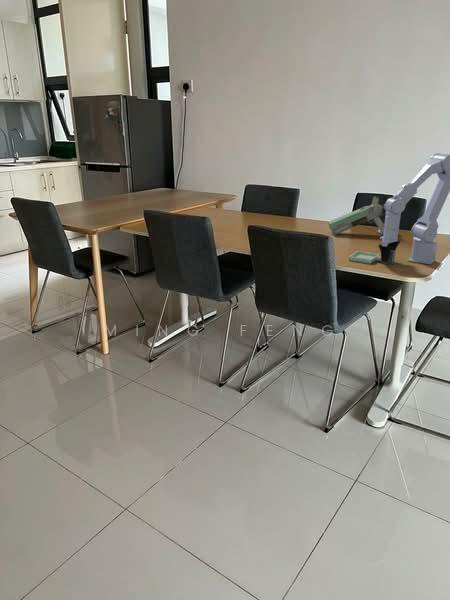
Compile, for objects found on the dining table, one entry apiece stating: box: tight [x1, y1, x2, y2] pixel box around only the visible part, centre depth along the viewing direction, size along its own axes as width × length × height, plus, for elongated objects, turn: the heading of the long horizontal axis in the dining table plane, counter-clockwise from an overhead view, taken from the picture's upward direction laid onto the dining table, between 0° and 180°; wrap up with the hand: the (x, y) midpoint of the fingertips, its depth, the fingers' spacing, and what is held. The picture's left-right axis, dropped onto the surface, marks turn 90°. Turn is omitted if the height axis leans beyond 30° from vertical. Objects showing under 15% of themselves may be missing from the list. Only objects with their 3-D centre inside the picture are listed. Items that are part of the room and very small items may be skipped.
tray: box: [348, 250, 381, 265], centre depth 197 cm, size 10×11×2 cm
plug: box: [376, 249, 397, 266], centre depth 191 cm, size 7×3×6 cm, turn 54°
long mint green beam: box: [327, 196, 386, 236], centre depth 240 cm, size 7×32×20 cm, turn 91°
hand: (387, 259), depth 191 cm, fingers open, 7 cm apart
